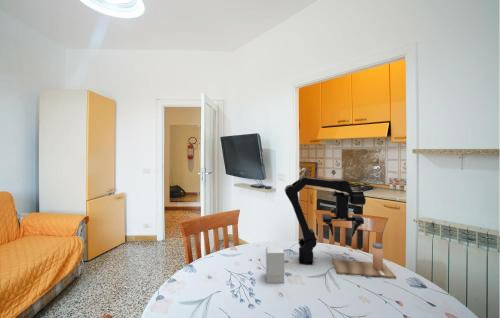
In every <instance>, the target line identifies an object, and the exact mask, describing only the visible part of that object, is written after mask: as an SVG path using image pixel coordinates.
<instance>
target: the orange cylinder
mask: <svg viewBox="0 0 500 318" xmlns="http://www.w3.org/2000/svg"><path fill="white" fill-rule="evenodd" d="M383 246H384V245H383V243H379V242H373V243H372V262H373V269H375V270H378V271H382V270H383V263H384V262H383V261H384V260H383V259H384V258H383V257H384V255H383V254H384V253H383V251H384V250H383V248H384V247H383Z"/></svg>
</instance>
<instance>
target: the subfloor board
mask: <svg viewBox="0 0 500 318" xmlns="http://www.w3.org/2000/svg"><path fill="white" fill-rule="evenodd" d="M331 263H332V265H334V266H333V268H334V271H335V270H336V271H335V273H336V275H342V274H345V275H344V276H354V275H361V276H360V277H367V276H375V277H374V278H379V277H385V278H384V279H391V278H396V279H397V275H395V273H394V272H393V271H392V270H391V269H390V268H389V267H388V266H387V264H385V263H384V262H383V270H382V271H378V270H375V269H373V261H372V262H370V261H357V260H345V259H344V260H341V259H331Z"/></svg>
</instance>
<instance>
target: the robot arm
mask: <svg viewBox="0 0 500 318" xmlns="http://www.w3.org/2000/svg"><path fill="white" fill-rule="evenodd" d="M306 186H313V187H321V188H328V189H332V190H334V191H333V192H332V193H331V196H333V197H335V206H330V214H328V213H327V214H325V213H322V215H321V220H322V223H325V224H326V225H327V226H328V228H329V230H330V234H331V237H334V227H333V223H332V222H333V221H337V222H339V221H340V222H351V235H350V236H351V237H352V238H353V237H354V235H355V233H356V231H357V230H358V228H359V227H360V226H362V225H364V224H365V219H364V217H362V216H361V215H360V214H359V215H356V214H355V215H353V214H352V216H349V210H350V209H349V204H350V205H351V206H365V204H366V197H365V196H366V195H365V194H364V191H362V190H357V191H356V190H353V189H352V187H350V186H351V185H350V184H349V181H348V180H345V179H341V178H338V179H337V178H336V179H324V178H323V179H322V178H313V177H306V176H301V177H300V178H299V179H297V180H296V181H294V182H293V183H291V184H289V185H286V186H285V187H284V193H285V195H286V197H287V198H288V201H289V202H290V203H291V205H292V208H293V212H294V213H295V216H296V219H297V221H298V225H299V227H300V231H301V239H300V240H298V246H299V247H298V263H299V265H300V264H301V265H313V264H314V252H313V249H314V248H315V247H316V246H317V244H318V243H317V241H318V238H317V237H316V233H315V232H314V230H313V228H310V227H309V225H308V222H307V221H306V217H305V215H304V212H303V209H302V207H301V203H300V200H299V198H300V197H299V192H300V191H302V190H303V189H304V188H305V187H306ZM331 214H334V216H332V215H331Z"/></svg>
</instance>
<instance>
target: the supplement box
mask: <svg viewBox="0 0 500 318" xmlns="http://www.w3.org/2000/svg"><path fill="white" fill-rule="evenodd" d="M265 249H266V250H265V251H266V252H265V258H266V259H265V262H266V263H265V266H266V271H265V275H266V282H267V283H268V284H269V283H270V284H272V283H273V284H285V250H284V249H283V246H280V245H279V246H277V245H276V246H275V245H274V246H273V245H272V246H270V245H269V246H265Z"/></svg>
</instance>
